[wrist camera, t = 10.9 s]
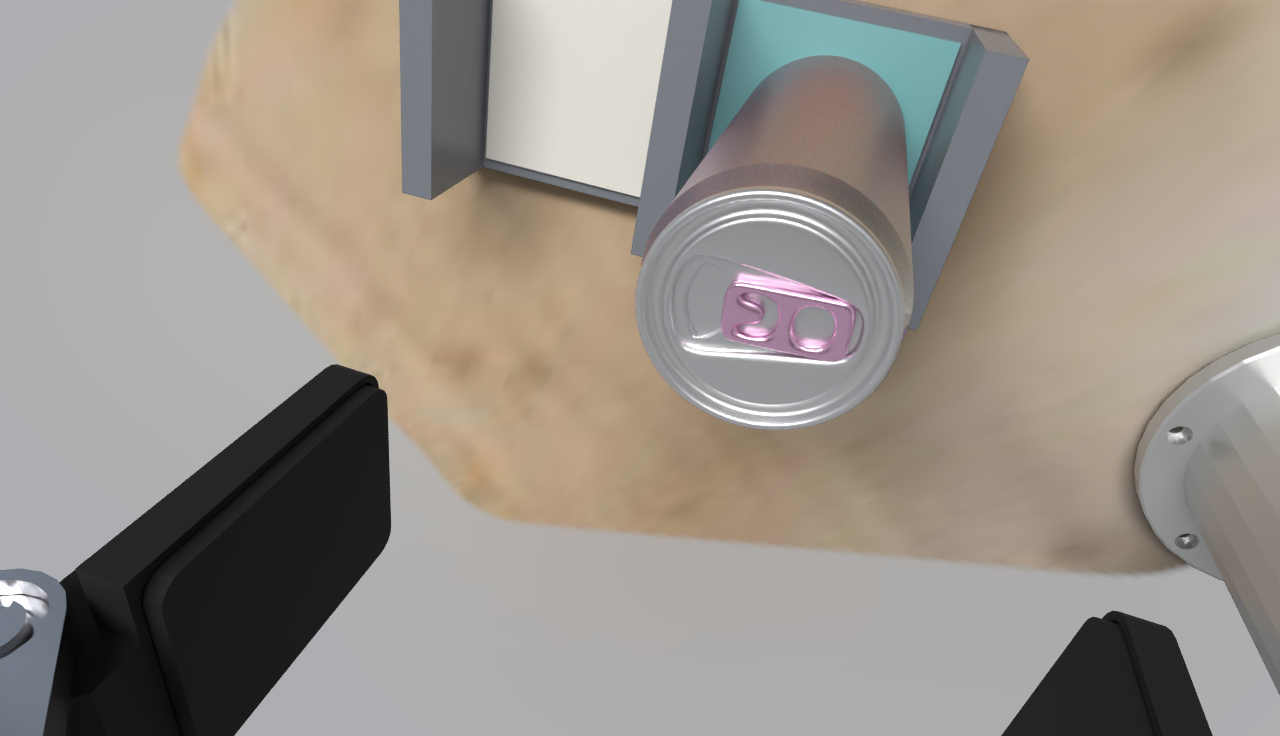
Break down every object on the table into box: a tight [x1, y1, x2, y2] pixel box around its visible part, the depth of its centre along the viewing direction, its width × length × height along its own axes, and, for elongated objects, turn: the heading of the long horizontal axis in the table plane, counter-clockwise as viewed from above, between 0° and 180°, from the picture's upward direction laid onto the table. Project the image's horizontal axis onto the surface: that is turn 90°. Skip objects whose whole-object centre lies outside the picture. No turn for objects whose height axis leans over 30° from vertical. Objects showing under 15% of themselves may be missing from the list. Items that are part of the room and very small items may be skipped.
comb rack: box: [399, 0, 1029, 331], centre depth 28 cm, size 20×9×6 cm, turn 81°
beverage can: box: [635, 55, 914, 430], centre depth 22 cm, size 6×6×15 cm
